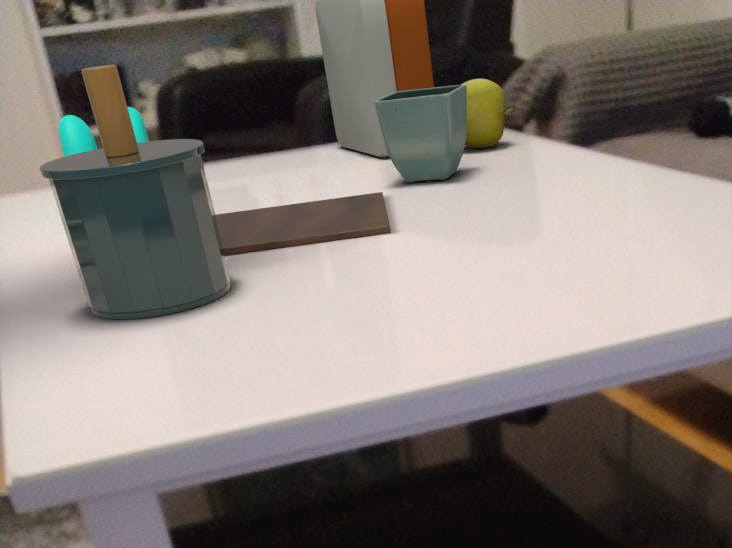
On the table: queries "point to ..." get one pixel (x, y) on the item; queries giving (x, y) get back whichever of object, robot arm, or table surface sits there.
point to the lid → (116, 137)
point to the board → (303, 223)
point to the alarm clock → (371, 62)
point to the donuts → (81, 138)
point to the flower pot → (424, 130)
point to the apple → (484, 113)
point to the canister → (144, 240)
